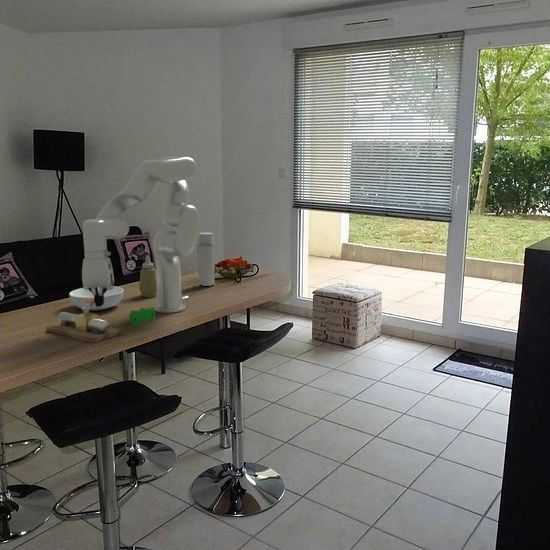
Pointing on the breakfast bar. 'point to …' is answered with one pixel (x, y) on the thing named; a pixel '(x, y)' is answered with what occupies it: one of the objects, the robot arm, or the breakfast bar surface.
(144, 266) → the squeeze bottle
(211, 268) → the water bottle
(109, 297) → the serving bowl
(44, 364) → the breakfast bar surface
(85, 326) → the valve and pipe
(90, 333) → the valve stand
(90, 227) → the robot arm
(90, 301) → the valve lever
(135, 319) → the pipe clamp
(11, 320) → the breakfast bar surface
